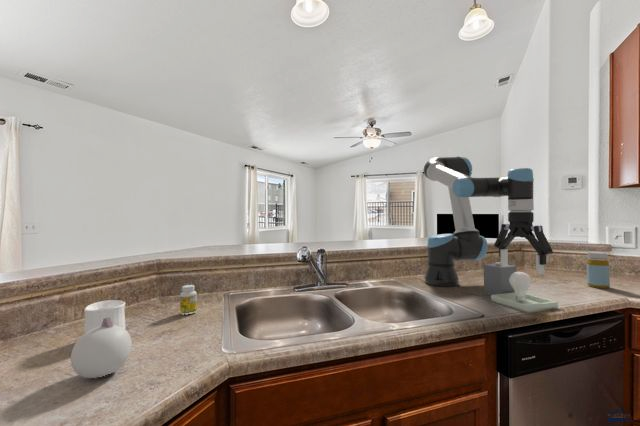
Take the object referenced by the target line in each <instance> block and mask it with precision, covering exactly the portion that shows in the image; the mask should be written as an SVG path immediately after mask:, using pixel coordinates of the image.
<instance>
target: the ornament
mask: <svg viewBox="0 0 640 426" xmlns="http://www.w3.org/2000/svg"><path fill="white" fill-rule="evenodd" d="M132 343H133V341H132V338H131V335H130V333H129V331H128V330H126V328H125V329H124V328H122V327H120V326H116V325H112V322H111V318H110V317H106V318H104V319H103V322H102V326H99V327H96V328H94V329H91V330H90V331H88V332H86V333H85V334H84V333H83V335H81V336H80V337H79V338H78V339H77V341H76V342H75V344H74V346H73V348H72V350H71V354H70V364H71V367H72V369H73V371H74V372H75V374H77V375H79V376H80V377H82V378H85V379H91V378H94V379H96V378H95V377H100V376H104V375H107V374H109V373H112V372H113V373H115V372H116V370H117V371H118V370H119V369H121V368H122V367H123V365H125V363H126V362H127V360H128V359H129V358H130V354H131V351H132V346H133V344H132ZM114 371H115V372H114ZM113 373H112V374H113ZM107 376H108V375H107ZM104 377H105V376H104Z"/></svg>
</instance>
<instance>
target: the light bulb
mask: <svg viewBox="0 0 640 426" xmlns="http://www.w3.org/2000/svg"><path fill="white" fill-rule="evenodd" d="M509 282H510V284H511V286H512V287H513V289H514V291H515V294H516V300H517V301H519V302H524V301H526V299H525V298H526V297H525V296H526V294H528V293H527V292H528V290H529V289H530V288H531V286H532V278H531V277H530V276H529V274H527V273H525V272H523V271H517V272H514V273H513V274H511V276H510V278H509Z"/></svg>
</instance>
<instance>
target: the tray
mask: <svg viewBox="0 0 640 426" xmlns="http://www.w3.org/2000/svg"><path fill="white" fill-rule="evenodd" d="M525 297H526V298H525V299H526V301H524V302H519V301H517V300H516V294H515V292H513V293H505V294H496V295H490V301H491V302H494V303H497V304H498V305H499V304H500V305H502V306H505V307H509V308H511V309H515V310H517V311H520V312H523V313H526V314H529V313H536V312H541V311H548V310H556V309H559V302H558V301H556V300H552V299H549V298H544V297H542V296H541V297H540V296H536V295H534V294H530V293H529V294H528V293H526V296H525Z"/></svg>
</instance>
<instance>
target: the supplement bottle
mask: <svg viewBox="0 0 640 426" xmlns="http://www.w3.org/2000/svg"><path fill="white" fill-rule="evenodd" d="M181 291H182V292H181V293H180V295H179V304H180V311H181V312H182V313H189V312H194V311H196V310H197V311H198V295H197V294H198V293H197V291H196V290H195V285H194V284H186V285H182V287H181ZM181 312H180V313H181Z"/></svg>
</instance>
